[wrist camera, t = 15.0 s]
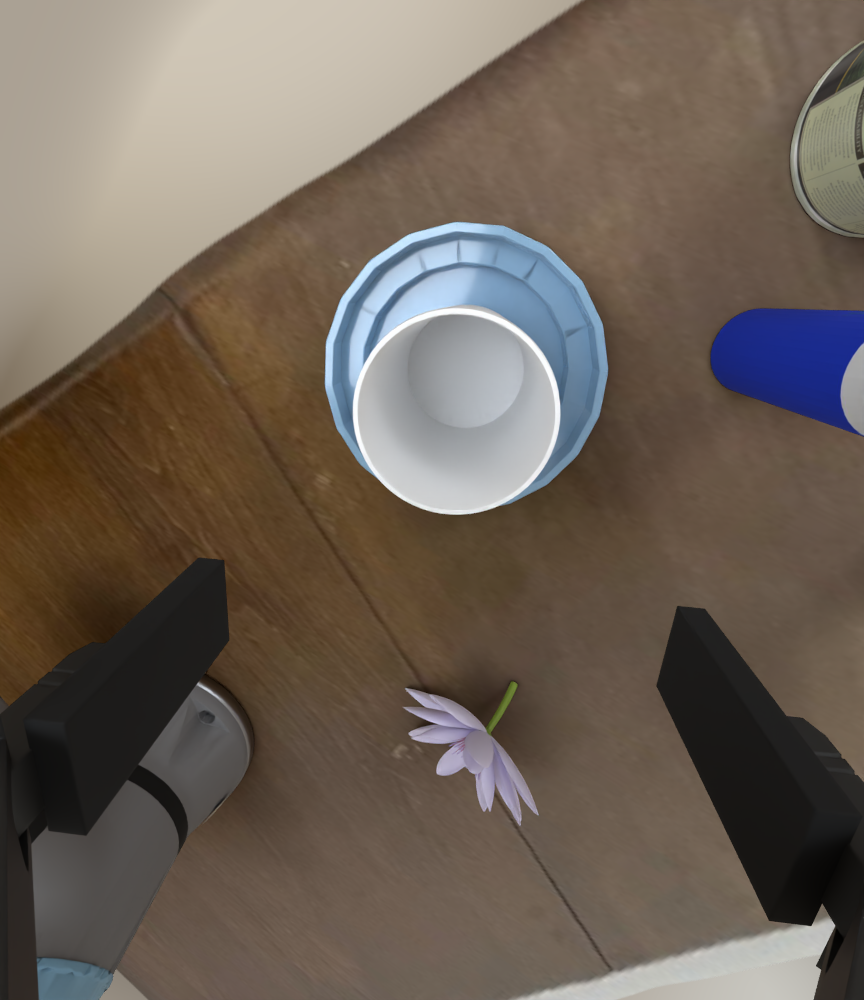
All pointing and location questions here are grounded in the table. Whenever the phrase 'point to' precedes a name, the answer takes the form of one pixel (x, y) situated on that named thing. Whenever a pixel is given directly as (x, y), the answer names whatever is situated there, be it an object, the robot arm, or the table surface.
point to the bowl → (483, 282)
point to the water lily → (472, 748)
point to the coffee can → (833, 148)
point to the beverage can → (797, 362)
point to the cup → (456, 410)
